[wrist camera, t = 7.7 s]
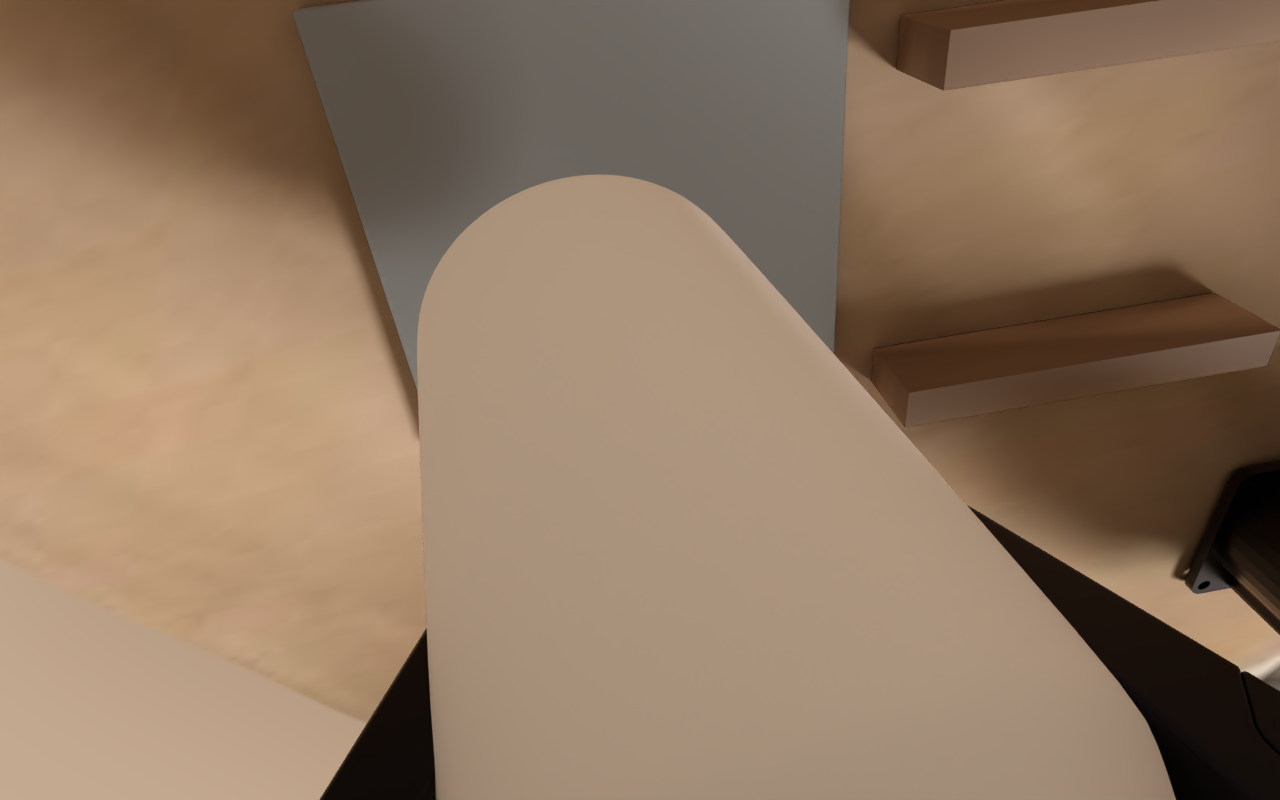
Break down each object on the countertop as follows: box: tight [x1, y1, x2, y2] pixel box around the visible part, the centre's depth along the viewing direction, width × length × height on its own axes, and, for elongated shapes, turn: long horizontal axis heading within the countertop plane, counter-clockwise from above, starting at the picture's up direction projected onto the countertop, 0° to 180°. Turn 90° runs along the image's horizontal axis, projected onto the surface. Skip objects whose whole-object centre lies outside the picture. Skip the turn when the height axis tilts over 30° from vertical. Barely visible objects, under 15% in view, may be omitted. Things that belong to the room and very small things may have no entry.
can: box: [417, 175, 1176, 800], centre depth 10 cm, size 6×6×12 cm
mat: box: [292, 0, 850, 392], centre depth 20 cm, size 12×12×1 cm
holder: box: [872, 0, 1280, 427], centre depth 20 cm, size 10×11×2 cm
